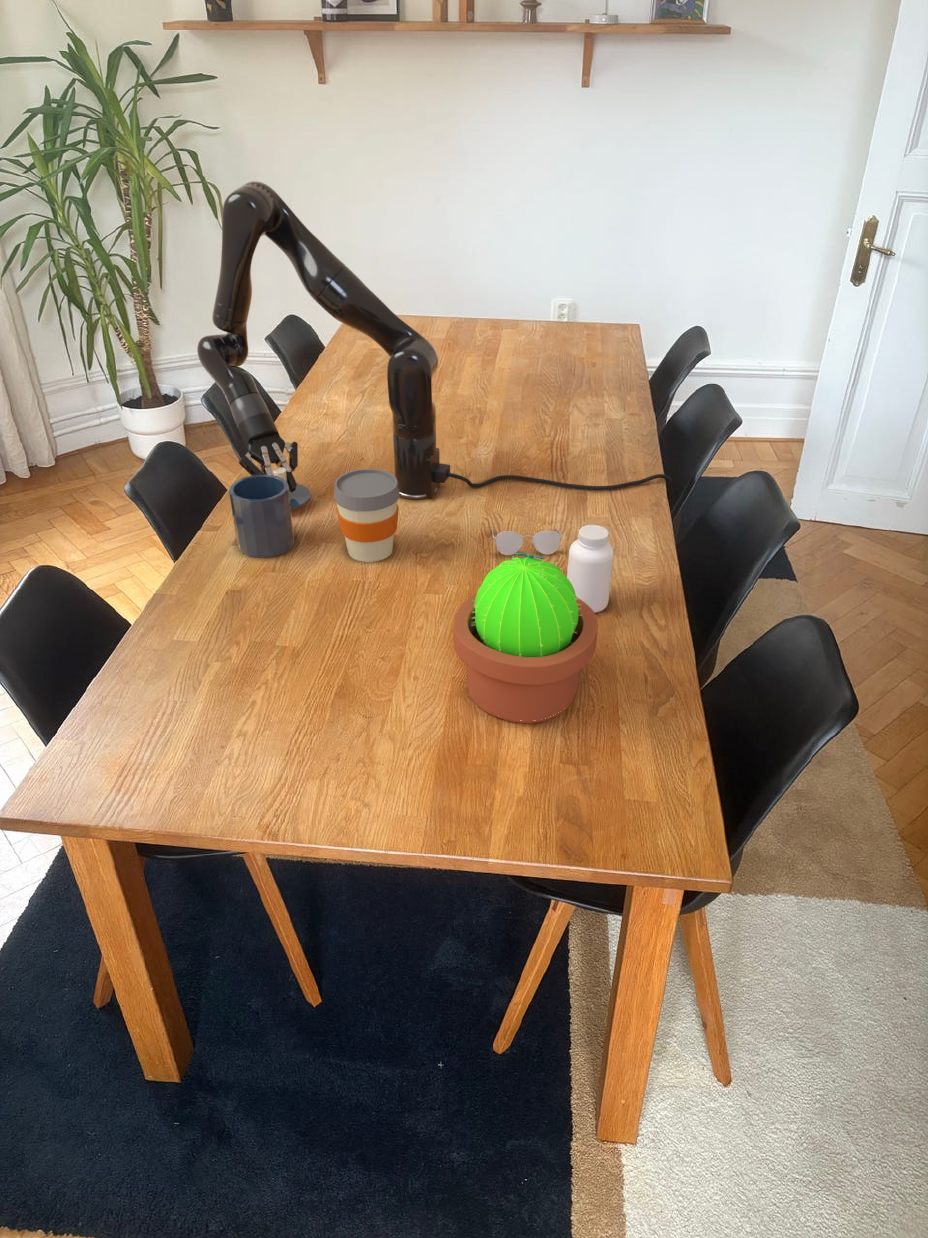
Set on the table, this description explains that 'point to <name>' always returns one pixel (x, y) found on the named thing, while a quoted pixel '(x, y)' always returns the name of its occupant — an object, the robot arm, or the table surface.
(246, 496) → the blue handleless cup
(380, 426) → the table surface
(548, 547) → the sunglasses
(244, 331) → the robot arm
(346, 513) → the reusable coffee cup
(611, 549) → the pill bottle
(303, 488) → the lid
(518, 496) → the table surface
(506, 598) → the potted cactus
